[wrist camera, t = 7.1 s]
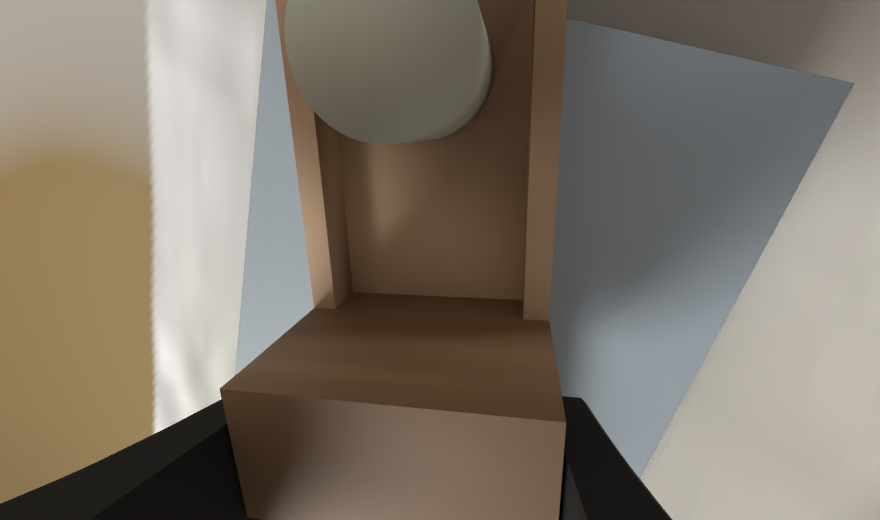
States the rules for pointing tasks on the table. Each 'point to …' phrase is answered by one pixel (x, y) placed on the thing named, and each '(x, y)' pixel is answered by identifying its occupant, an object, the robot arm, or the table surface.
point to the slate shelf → (603, 212)
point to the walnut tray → (415, 269)
